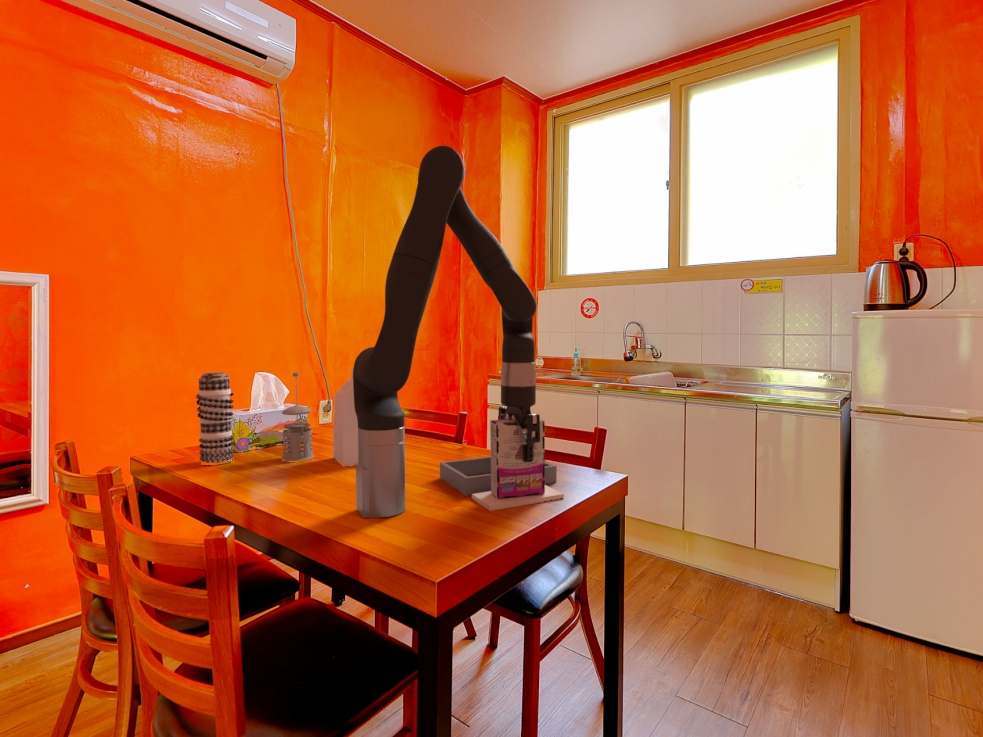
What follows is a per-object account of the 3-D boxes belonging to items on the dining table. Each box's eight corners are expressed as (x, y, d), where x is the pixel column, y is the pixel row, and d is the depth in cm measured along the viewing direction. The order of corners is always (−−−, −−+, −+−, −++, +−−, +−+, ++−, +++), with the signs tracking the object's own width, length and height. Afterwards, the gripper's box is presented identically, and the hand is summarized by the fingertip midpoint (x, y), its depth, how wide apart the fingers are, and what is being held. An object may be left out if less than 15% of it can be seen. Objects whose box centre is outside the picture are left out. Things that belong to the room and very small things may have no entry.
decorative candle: (208, 458, 149) (205, 372, 147) (241, 458, 149) (238, 371, 148) (191, 466, 140) (188, 374, 138) (226, 466, 140) (223, 374, 139)
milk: (384, 462, 145) (383, 369, 143) (343, 467, 139) (341, 371, 138) (372, 453, 155) (371, 367, 154) (333, 458, 150) (331, 368, 148)
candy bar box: (536, 488, 117) (536, 416, 116) (545, 494, 112) (546, 420, 111) (489, 492, 113) (489, 418, 112) (496, 499, 109) (497, 422, 107)
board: (490, 510, 105) (490, 506, 105) (471, 498, 113) (471, 493, 113) (563, 498, 113) (563, 493, 113) (541, 487, 121) (541, 483, 121)
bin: (465, 496, 114) (465, 478, 114) (439, 478, 129) (439, 462, 128) (556, 482, 125) (556, 466, 125) (523, 467, 139) (523, 452, 139)
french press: (308, 452, 156) (306, 370, 154) (323, 460, 147) (321, 372, 146) (275, 457, 150) (272, 371, 148) (288, 465, 141) (286, 374, 139)
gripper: (551, 385, 106) (550, 463, 108) (517, 379, 119) (516, 449, 120) (519, 387, 103) (519, 467, 104) (487, 381, 116) (487, 452, 117)
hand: (517, 457), depth 112 cm, fingers open, 8 cm apart
